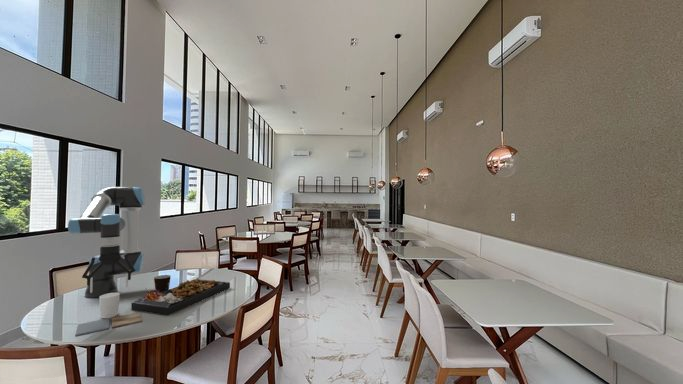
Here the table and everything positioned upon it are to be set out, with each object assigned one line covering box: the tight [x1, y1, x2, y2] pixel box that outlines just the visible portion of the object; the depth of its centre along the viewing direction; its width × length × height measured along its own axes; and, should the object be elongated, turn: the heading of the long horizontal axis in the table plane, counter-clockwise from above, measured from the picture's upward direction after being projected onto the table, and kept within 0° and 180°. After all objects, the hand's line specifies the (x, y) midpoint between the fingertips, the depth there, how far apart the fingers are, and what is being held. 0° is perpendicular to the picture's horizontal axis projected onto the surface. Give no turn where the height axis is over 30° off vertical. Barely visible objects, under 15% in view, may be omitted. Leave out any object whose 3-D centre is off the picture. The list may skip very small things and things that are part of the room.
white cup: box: [98, 292, 121, 319], centre depth 143 cm, size 8×8×10 cm
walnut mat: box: [111, 311, 143, 329], centre depth 138 cm, size 13×11×1 cm
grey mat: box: [75, 318, 110, 337], centre depth 130 cm, size 13×11×1 cm
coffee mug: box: [153, 274, 171, 293], centre depth 178 cm, size 12×9×10 cm
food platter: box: [130, 278, 231, 316], centre depth 168 cm, size 45×25×10 cm, turn 162°
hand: (109, 289), depth 143 cm, fingers open, 13 cm apart
